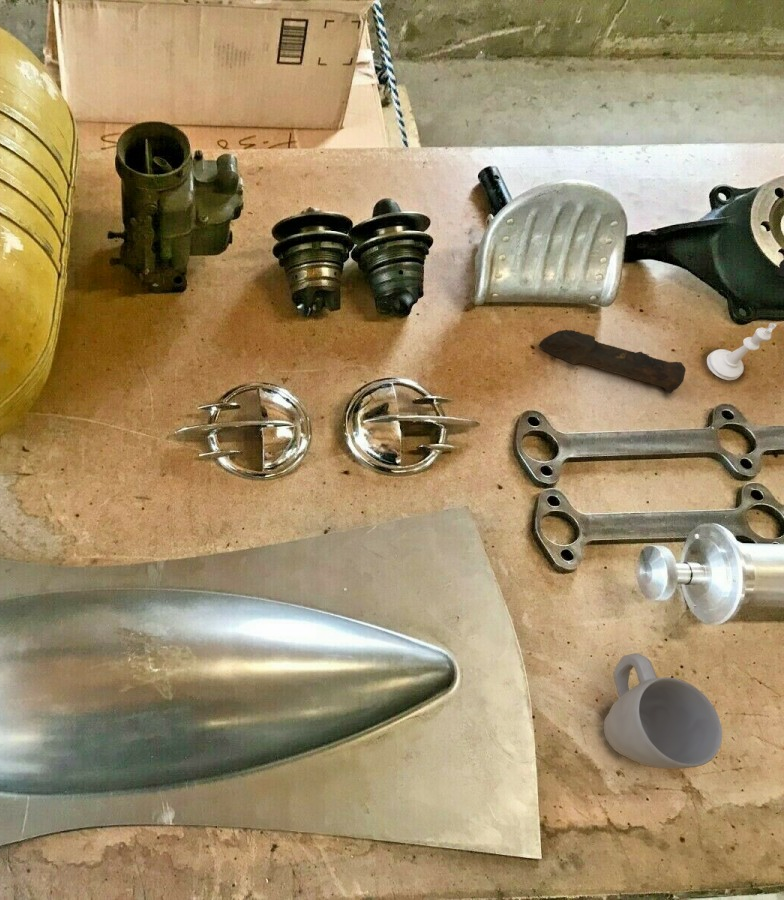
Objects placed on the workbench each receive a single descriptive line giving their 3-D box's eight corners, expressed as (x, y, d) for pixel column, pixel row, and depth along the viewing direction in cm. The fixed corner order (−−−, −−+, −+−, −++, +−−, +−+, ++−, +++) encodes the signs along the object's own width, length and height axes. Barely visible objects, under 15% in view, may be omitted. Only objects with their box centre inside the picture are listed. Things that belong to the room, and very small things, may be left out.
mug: (679, 767, 87) (739, 759, 79) (606, 781, 86) (659, 773, 78) (634, 659, 93) (686, 640, 84) (565, 671, 92) (611, 652, 83)
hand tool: (670, 375, 112) (691, 356, 108) (669, 397, 110) (690, 379, 106) (539, 333, 114) (554, 313, 109) (535, 354, 112) (551, 335, 108)
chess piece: (744, 362, 113) (797, 321, 105) (735, 386, 111) (788, 346, 103) (711, 345, 114) (761, 303, 106) (702, 369, 112) (751, 328, 104)
